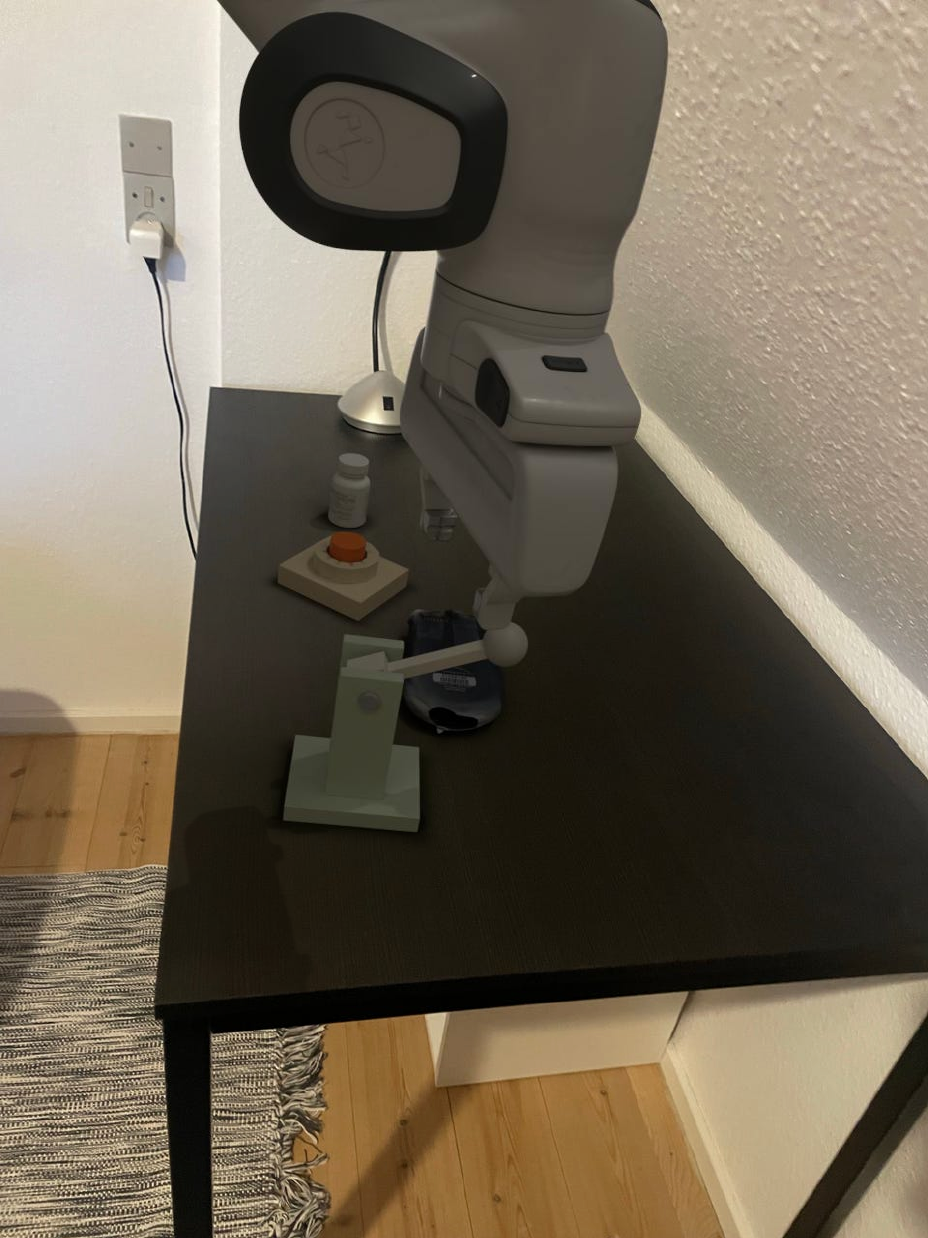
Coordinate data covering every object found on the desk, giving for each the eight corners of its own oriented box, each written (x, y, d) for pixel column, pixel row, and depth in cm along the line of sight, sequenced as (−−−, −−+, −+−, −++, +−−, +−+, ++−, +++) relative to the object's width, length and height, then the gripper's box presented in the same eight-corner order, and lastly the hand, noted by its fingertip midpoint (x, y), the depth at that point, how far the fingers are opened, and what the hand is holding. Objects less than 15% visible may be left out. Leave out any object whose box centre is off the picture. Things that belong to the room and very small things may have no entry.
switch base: (416, 760, 78) (441, 633, 71) (417, 832, 71) (444, 700, 64) (293, 748, 76) (307, 617, 69) (282, 820, 70) (296, 684, 63)
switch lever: (529, 643, 69) (519, 608, 67) (534, 669, 66) (524, 633, 64) (359, 685, 70) (345, 651, 68) (357, 712, 67) (343, 678, 66)
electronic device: (393, 645, 93) (399, 727, 80) (408, 595, 91) (416, 671, 78) (482, 665, 95) (503, 748, 82) (499, 617, 93) (523, 694, 80)
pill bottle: (351, 508, 113) (358, 448, 109) (372, 525, 110) (381, 464, 106) (320, 514, 110) (326, 453, 106) (341, 532, 108) (349, 470, 103)
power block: (277, 583, 96) (280, 549, 94) (329, 552, 103) (333, 519, 101) (357, 621, 93) (362, 587, 91) (406, 586, 100) (411, 554, 98)
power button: (321, 554, 95) (323, 539, 95) (342, 542, 98) (344, 527, 97) (351, 568, 94) (353, 552, 93) (371, 555, 97) (373, 540, 96)
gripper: (393, 277, 54) (362, 492, 62) (533, 422, 39) (469, 686, 46) (493, 287, 57) (452, 494, 64) (662, 428, 41) (582, 678, 49)
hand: (460, 576), depth 55 cm, fingers open, 8 cm apart
